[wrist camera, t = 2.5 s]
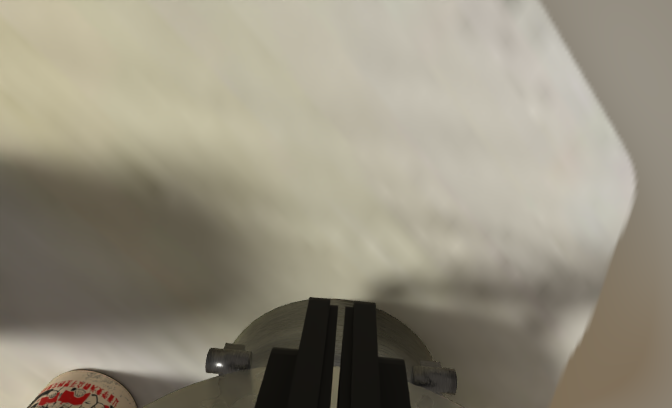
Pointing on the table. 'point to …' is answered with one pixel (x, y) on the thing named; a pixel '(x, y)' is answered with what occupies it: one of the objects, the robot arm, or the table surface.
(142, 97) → the table surface
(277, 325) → the pot
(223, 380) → the lid
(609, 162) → the table surface
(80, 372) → the teacup with lid
